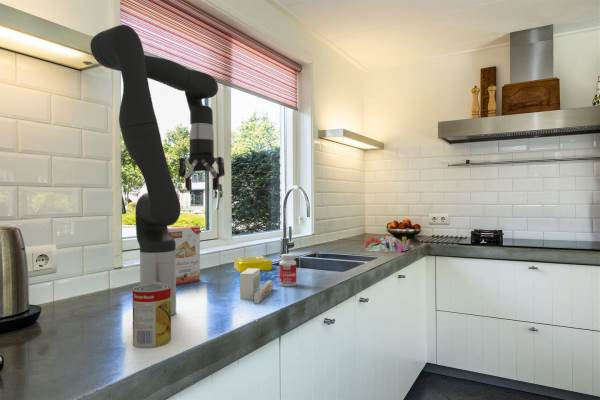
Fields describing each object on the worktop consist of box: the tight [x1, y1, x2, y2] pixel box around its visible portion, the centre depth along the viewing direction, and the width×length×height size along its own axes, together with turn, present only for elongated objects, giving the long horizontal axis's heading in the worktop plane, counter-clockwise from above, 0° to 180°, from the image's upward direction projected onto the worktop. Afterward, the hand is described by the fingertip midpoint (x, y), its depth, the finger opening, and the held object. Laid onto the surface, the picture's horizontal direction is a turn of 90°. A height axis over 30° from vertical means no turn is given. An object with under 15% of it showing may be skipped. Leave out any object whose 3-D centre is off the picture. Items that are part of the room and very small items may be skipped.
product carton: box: [239, 268, 261, 300], centre depth 134 cm, size 4×10×8 cm, turn 172°
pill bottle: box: [278, 253, 297, 287], centre depth 150 cm, size 6×6×11 cm
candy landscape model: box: [364, 235, 411, 252], centre depth 248 cm, size 25×24×9 cm
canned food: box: [132, 283, 172, 349], centre depth 91 cm, size 8×8×12 cm
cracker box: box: [167, 225, 201, 285], centre depth 156 cm, size 14×6×21 cm, turn 141°
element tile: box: [233, 255, 273, 273], centre depth 187 cm, size 15×15×5 cm
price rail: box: [253, 279, 274, 304], centre depth 133 cm, size 20×2×3 cm, turn 172°
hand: (202, 190), depth 132 cm, fingers open, 8 cm apart
